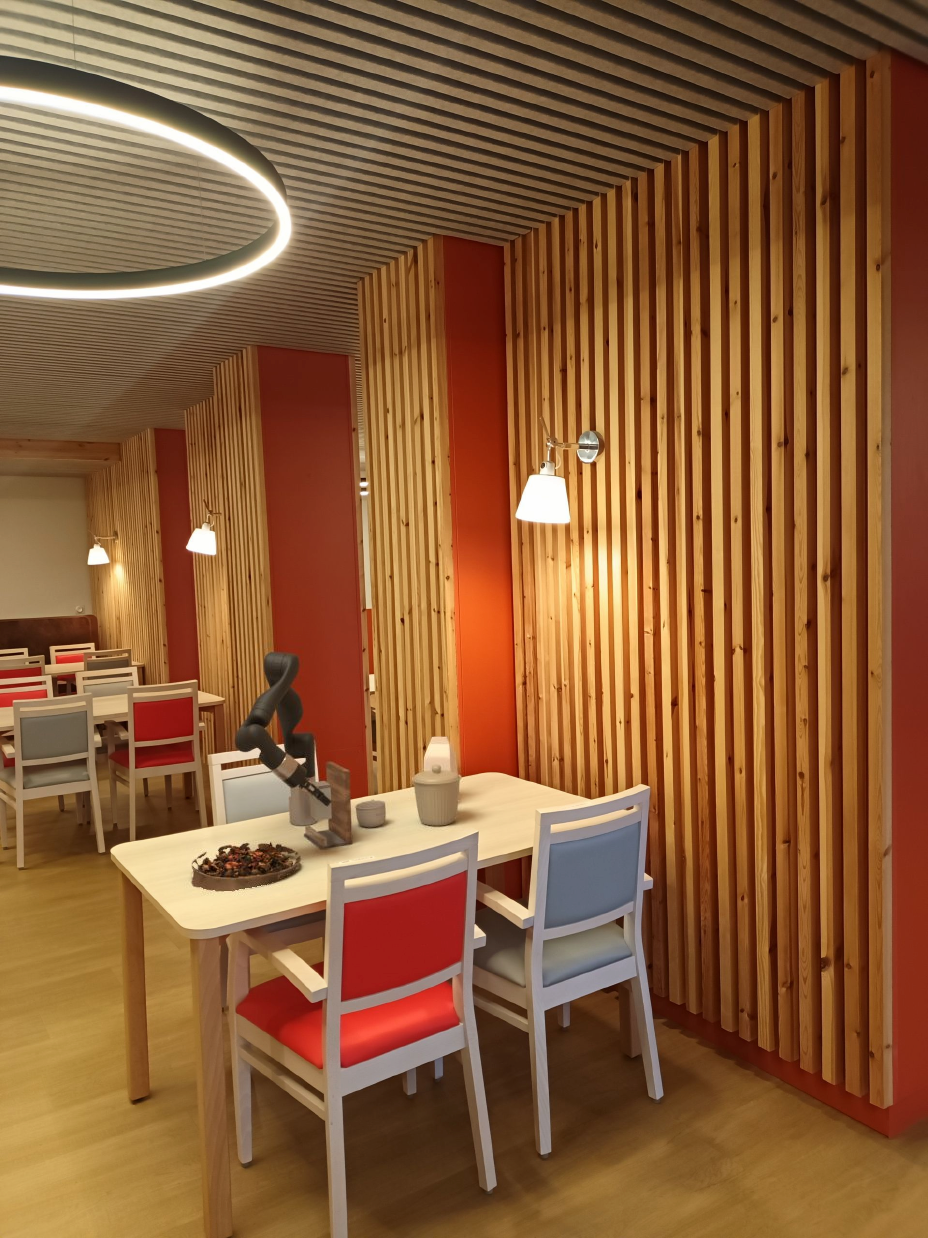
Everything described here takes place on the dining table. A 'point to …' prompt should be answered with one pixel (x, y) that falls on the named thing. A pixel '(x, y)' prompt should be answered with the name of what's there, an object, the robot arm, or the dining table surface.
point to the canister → (437, 795)
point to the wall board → (335, 811)
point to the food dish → (243, 867)
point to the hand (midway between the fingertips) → (325, 801)
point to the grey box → (316, 806)
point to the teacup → (371, 813)
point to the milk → (440, 755)
